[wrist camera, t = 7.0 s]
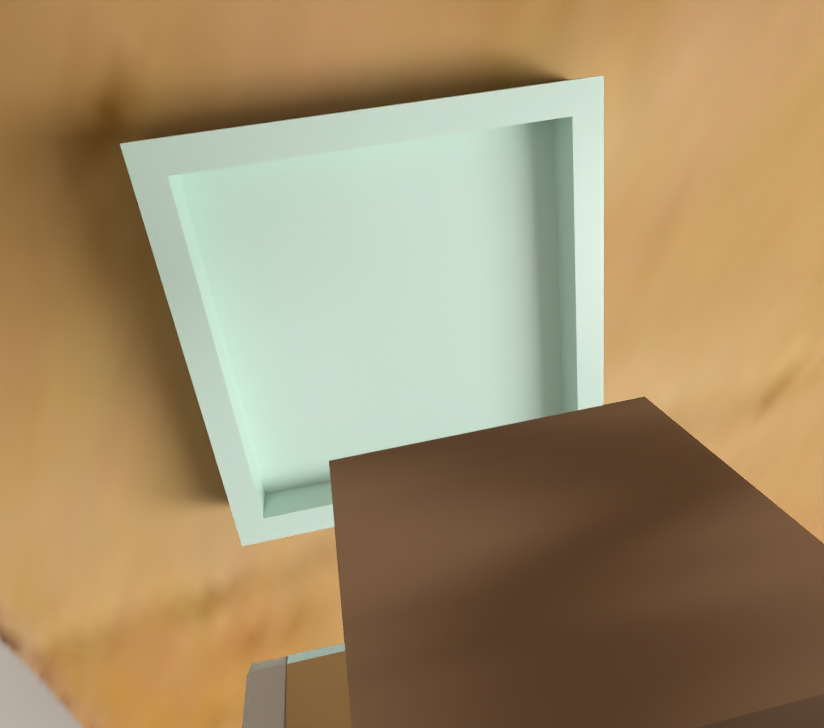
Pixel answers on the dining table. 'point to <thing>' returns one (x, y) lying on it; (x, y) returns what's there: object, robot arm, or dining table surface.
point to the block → (574, 582)
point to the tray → (379, 280)
